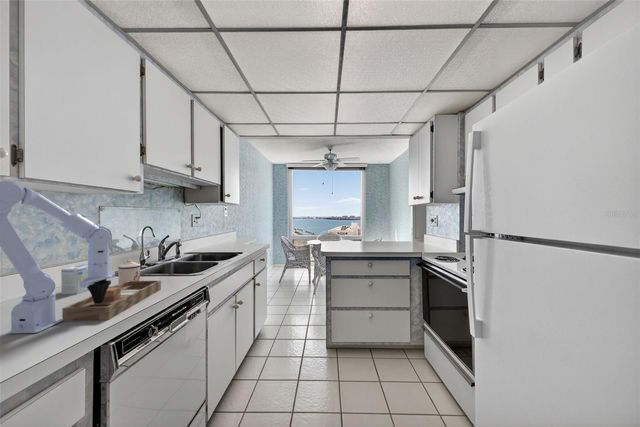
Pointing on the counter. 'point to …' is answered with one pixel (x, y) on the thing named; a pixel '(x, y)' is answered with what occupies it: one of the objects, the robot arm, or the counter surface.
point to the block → (112, 294)
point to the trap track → (107, 310)
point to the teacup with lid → (128, 272)
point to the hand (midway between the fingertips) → (98, 303)
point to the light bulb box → (73, 279)
